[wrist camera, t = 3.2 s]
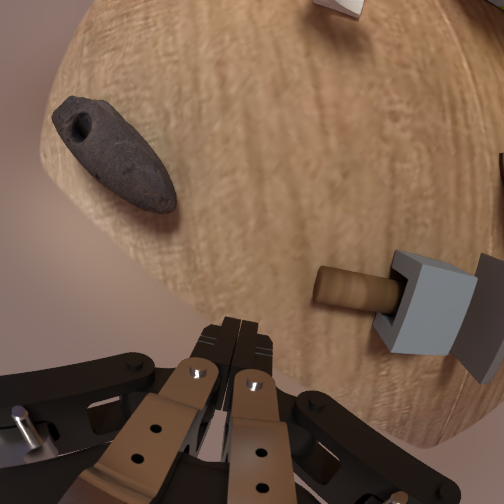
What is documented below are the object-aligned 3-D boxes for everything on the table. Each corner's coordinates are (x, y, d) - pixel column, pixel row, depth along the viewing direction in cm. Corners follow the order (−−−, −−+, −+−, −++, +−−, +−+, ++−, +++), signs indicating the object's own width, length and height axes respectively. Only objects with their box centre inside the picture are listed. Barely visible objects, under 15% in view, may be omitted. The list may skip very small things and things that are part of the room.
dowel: (398, 274, 24) (409, 293, 21) (386, 301, 25) (394, 321, 22) (321, 259, 24) (325, 278, 21) (312, 288, 25) (314, 309, 22)
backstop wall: (490, 256, 22) (535, 274, 15) (457, 348, 25) (490, 383, 17) (481, 252, 22) (527, 271, 15) (447, 348, 25) (480, 384, 17)
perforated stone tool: (202, 190, 24) (175, 189, 17) (163, 230, 25) (127, 244, 18) (111, 95, 22) (71, 75, 15) (81, 133, 23) (38, 123, 16)
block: (448, 263, 23) (478, 277, 18) (424, 331, 25) (447, 355, 19) (396, 249, 23) (422, 264, 18) (372, 325, 25) (390, 352, 20)
